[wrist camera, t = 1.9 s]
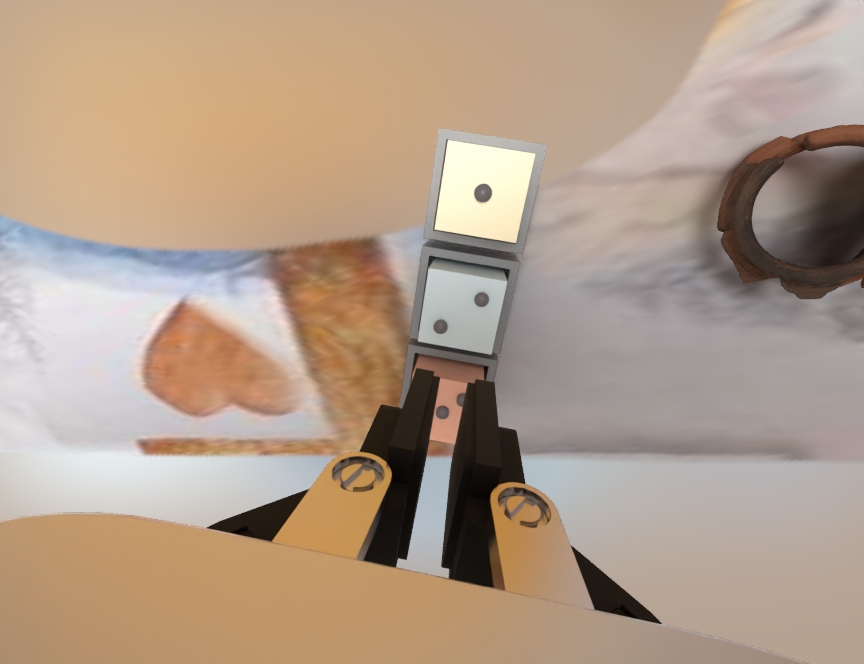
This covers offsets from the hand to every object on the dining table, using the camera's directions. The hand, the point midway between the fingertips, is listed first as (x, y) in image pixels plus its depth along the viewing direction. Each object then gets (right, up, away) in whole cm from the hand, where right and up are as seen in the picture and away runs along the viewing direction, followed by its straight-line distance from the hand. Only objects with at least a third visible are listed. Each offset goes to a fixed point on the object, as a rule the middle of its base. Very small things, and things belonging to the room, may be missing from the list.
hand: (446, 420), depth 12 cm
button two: (+2, +5, +15) cm, 16 cm away
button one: (+3, +11, +13) cm, 17 cm away
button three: (+1, -1, +17) cm, 17 cm away
